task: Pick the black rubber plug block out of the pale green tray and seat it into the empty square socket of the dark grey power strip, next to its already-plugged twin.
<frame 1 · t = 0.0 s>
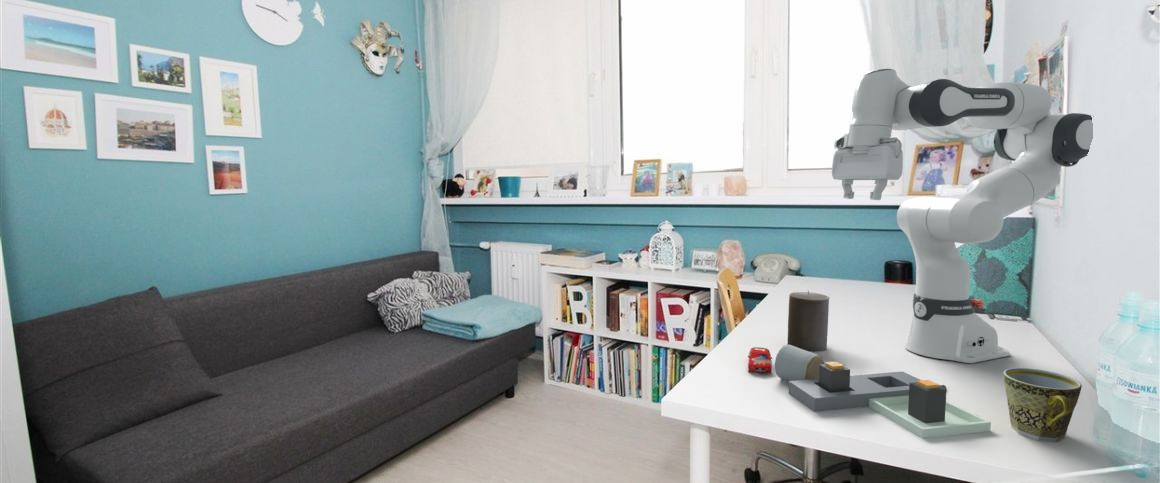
hand: (861, 199, 128), 39 cm above the table, tool pointing down, fingers open, 8 cm apart
ceramic mug: (802, 382, 118), on the table
power strip: (860, 398, 109), on the table
pillar candle: (807, 347, 142), on the table
ceramic cup: (1041, 439, 91), on the table
race car: (759, 367, 129), on the table
tray: (925, 419, 99), on the table
plug: (926, 417, 98), resting on tray
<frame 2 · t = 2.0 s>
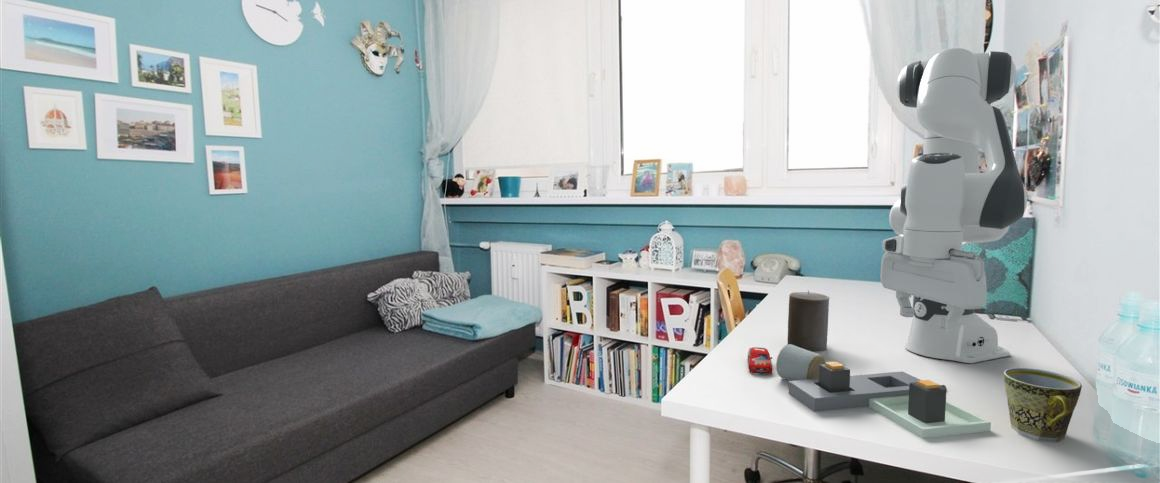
hand: (926, 322, 97), 18 cm above the table, tool pointing down, fingers open, 8 cm apart
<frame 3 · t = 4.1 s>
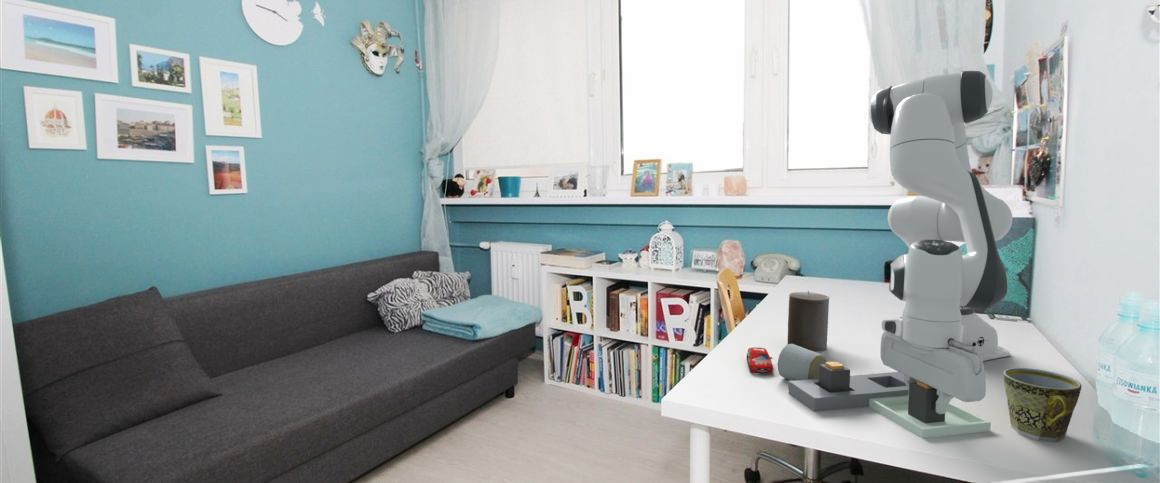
hand: (926, 406, 98), 3 cm above the table, tool pointing down, fingers closed on plug, 4 cm apart
plug: (926, 417, 98), resting on tray, touching gripper
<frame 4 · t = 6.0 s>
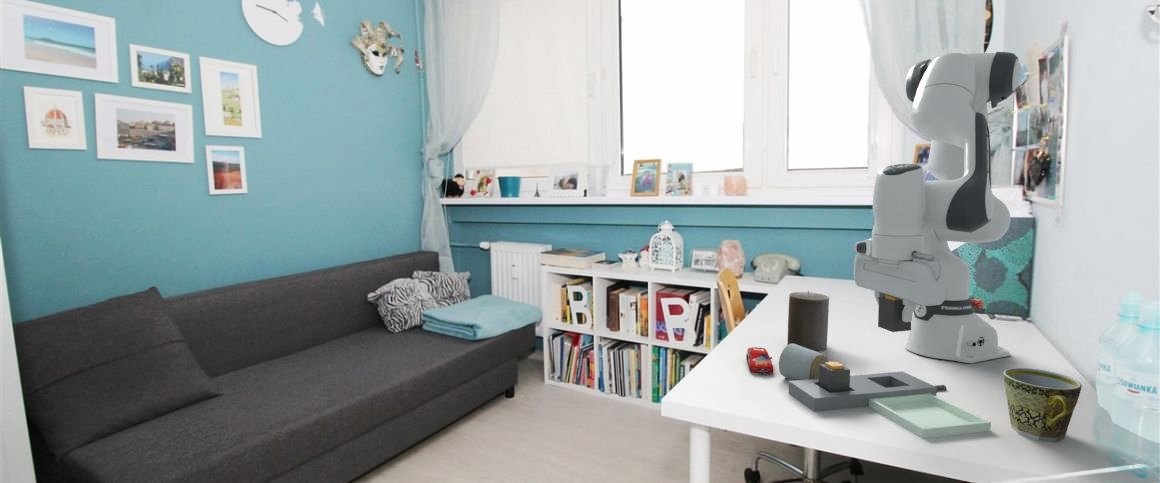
hand: (894, 317, 107), 16 cm above the table, tool pointing down, fingers closed on plug, 4 cm apart
plug: (894, 328, 107), point 14 cm above the table, touching gripper
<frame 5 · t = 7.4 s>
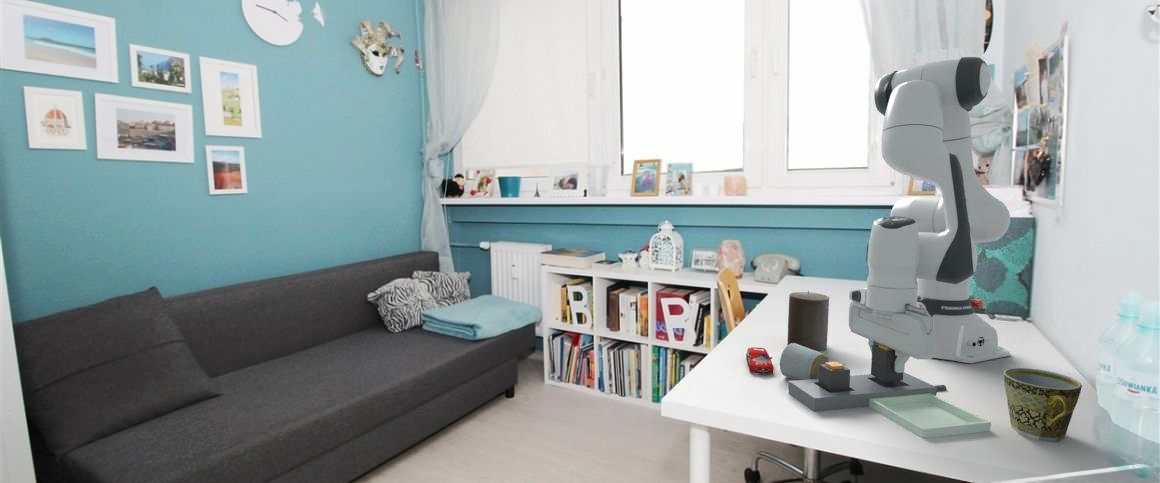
hand: (887, 366, 109), 6 cm above the table, tool pointing down, fingers closed on plug, 4 cm apart
plug: (886, 377, 109), point 4 cm above the table, touching gripper
when the fingers open (4 cm above the table, at t = 8.1 s): plug stays where it is, resting on power strip.
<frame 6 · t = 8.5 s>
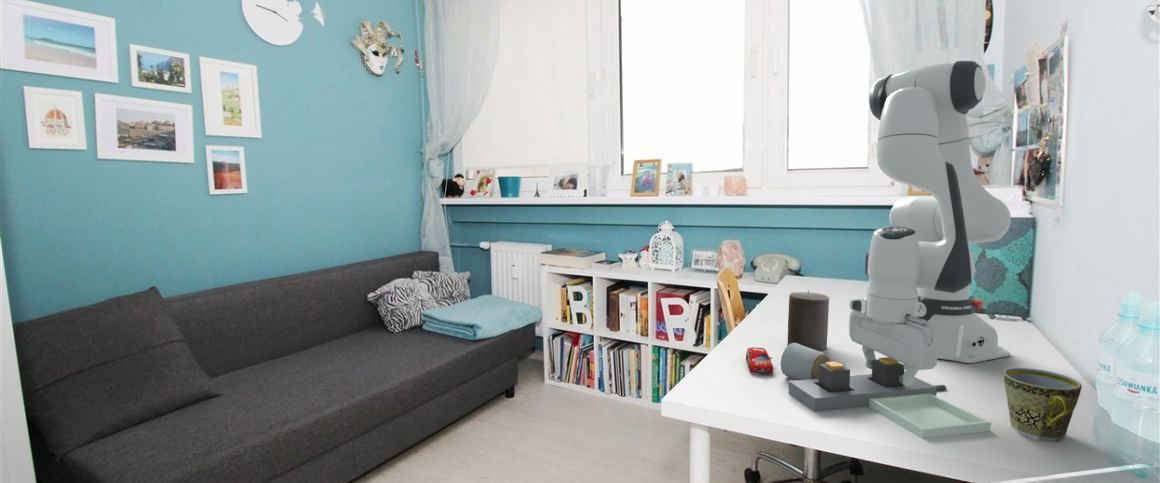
hand: (888, 376, 109), 4 cm above the table, tool pointing down, fingers open, 8 cm apart
plug: (887, 391, 109), point 1 cm above the table, touching power strip
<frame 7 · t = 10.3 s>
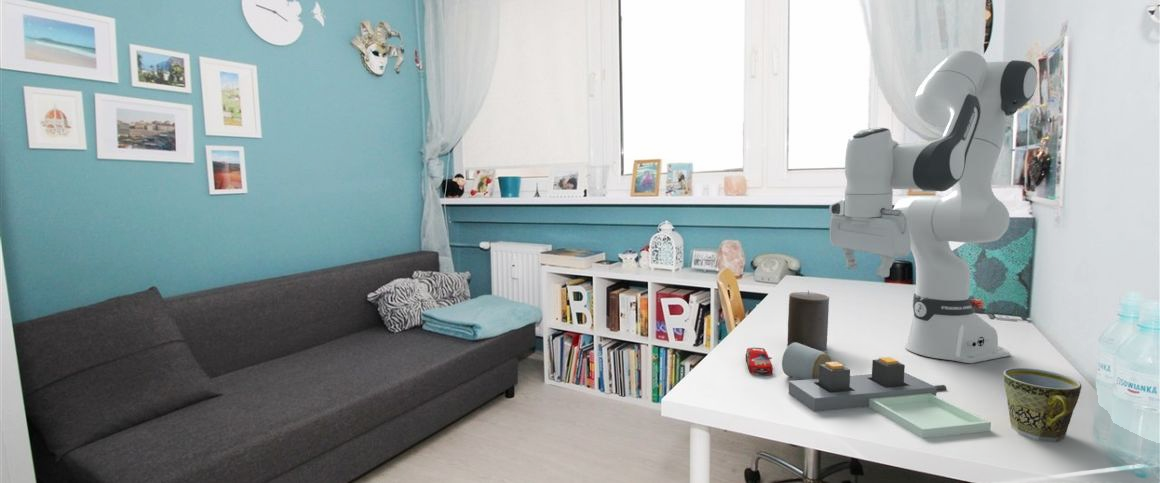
hand: (866, 272, 115), 24 cm above the table, tool pointing down, fingers open, 8 cm apart
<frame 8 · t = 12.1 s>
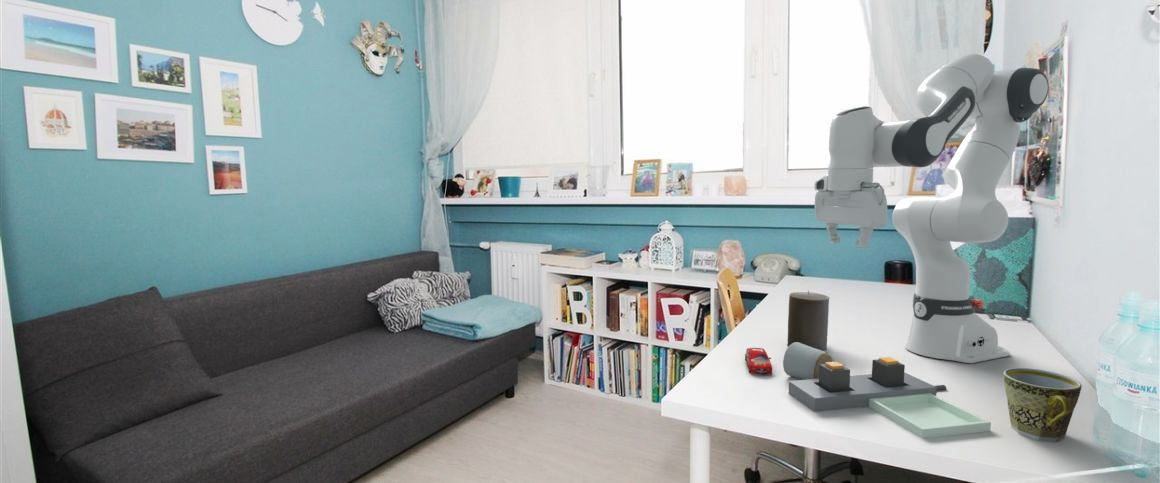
hand: (847, 245, 120), 29 cm above the table, tool pointing down, fingers open, 8 cm apart
at the end: plug 0.1 cm from the target spot on the power strip, point 1.0 cm above the power strip's base; plug tilted 0°; the gripper is holding nothing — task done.
